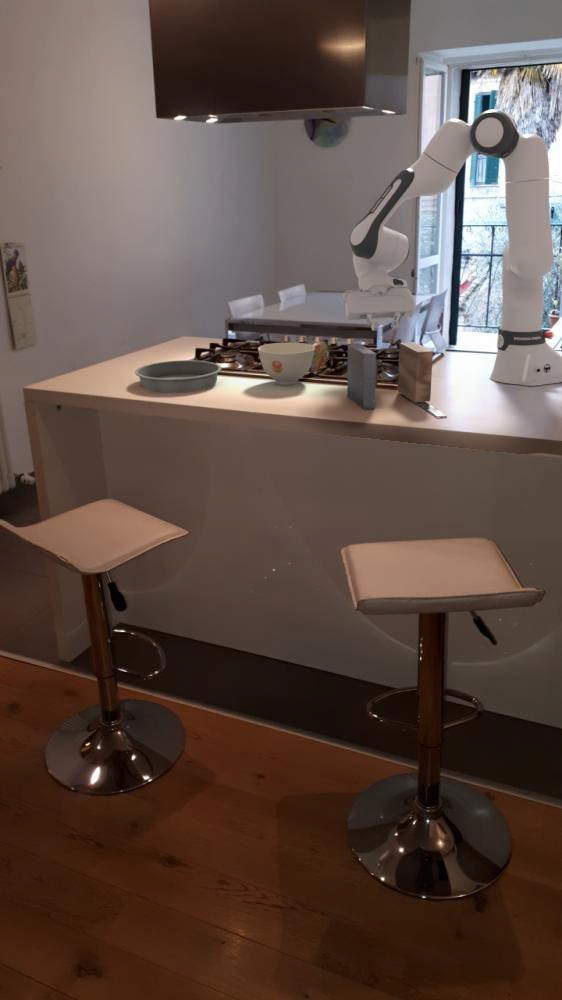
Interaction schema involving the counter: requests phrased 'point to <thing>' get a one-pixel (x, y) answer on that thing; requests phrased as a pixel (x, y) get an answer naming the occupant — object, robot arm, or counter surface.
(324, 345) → the tin
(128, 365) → the counter surface
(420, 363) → the brown flat angular block
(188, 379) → the cake pan
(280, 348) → the bowl
